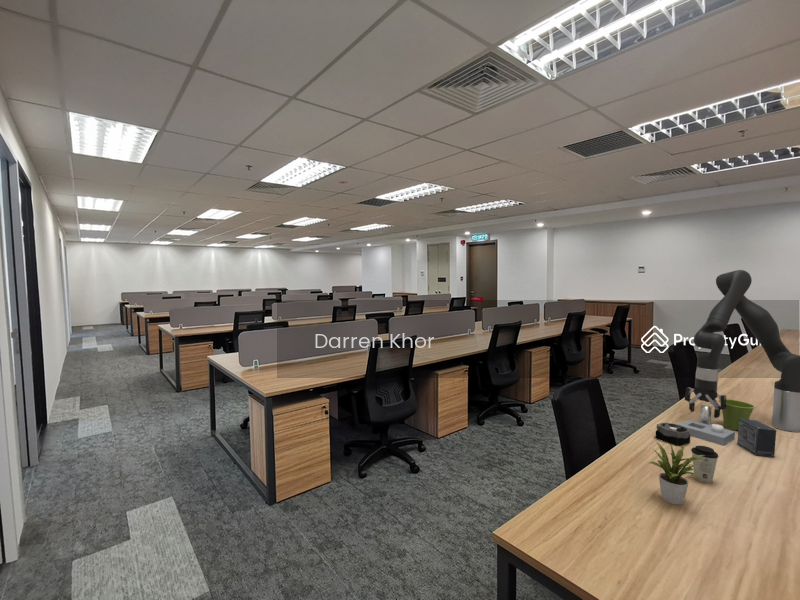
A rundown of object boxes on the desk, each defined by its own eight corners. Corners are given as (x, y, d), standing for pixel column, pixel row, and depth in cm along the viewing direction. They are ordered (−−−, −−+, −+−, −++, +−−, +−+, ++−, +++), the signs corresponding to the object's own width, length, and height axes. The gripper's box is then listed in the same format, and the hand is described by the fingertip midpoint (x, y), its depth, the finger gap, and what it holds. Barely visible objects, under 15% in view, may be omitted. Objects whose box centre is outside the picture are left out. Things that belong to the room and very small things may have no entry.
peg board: (688, 426, 168) (689, 414, 167) (734, 438, 154) (735, 425, 154) (676, 431, 161) (677, 419, 161) (723, 445, 148) (724, 432, 147)
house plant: (710, 524, 99) (713, 463, 98) (647, 506, 106) (649, 450, 106) (701, 497, 111) (704, 443, 110) (646, 484, 118) (648, 433, 118)
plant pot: (751, 436, 157) (753, 409, 157) (715, 427, 166) (716, 402, 166) (755, 429, 165) (756, 403, 164) (720, 421, 174) (721, 397, 173)
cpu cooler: (694, 429, 150) (681, 433, 145) (693, 443, 150) (680, 448, 145) (665, 420, 159) (652, 424, 154) (665, 433, 159) (652, 438, 154)
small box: (776, 458, 138) (778, 429, 137) (755, 456, 139) (757, 428, 138) (755, 445, 148) (757, 419, 147) (736, 444, 149) (737, 418, 149)
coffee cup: (710, 486, 117) (712, 455, 117) (685, 476, 123) (686, 446, 123) (721, 481, 121) (723, 451, 120) (696, 471, 127) (697, 442, 126)
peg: (701, 426, 167) (702, 404, 167) (711, 428, 164) (712, 406, 164) (698, 427, 165) (699, 405, 165) (708, 430, 162) (710, 407, 162)
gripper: (683, 375, 168) (681, 410, 169) (723, 383, 156) (720, 421, 157) (690, 373, 172) (688, 408, 173) (730, 381, 160) (727, 418, 161)
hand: (703, 414), depth 165 cm, fingers open, 8 cm apart
